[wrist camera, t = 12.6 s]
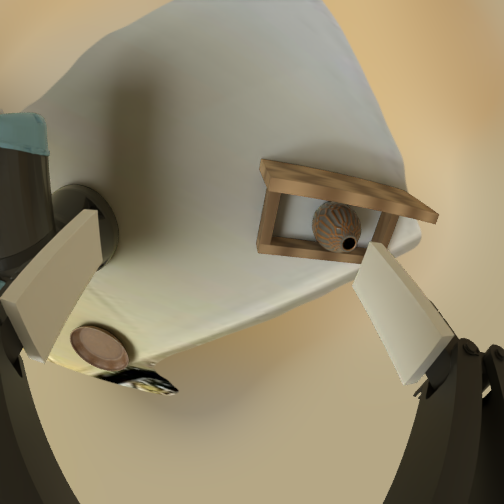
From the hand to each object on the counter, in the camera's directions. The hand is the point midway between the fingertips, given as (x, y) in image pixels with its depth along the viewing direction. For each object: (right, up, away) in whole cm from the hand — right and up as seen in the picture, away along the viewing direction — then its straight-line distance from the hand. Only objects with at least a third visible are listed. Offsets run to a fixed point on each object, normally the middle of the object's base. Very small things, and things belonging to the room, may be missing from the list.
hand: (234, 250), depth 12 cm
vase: (+13, +5, +29) cm, 32 cm away
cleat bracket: (+13, +6, +29) cm, 32 cm away
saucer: (-33, -21, +41) cm, 57 cm away
